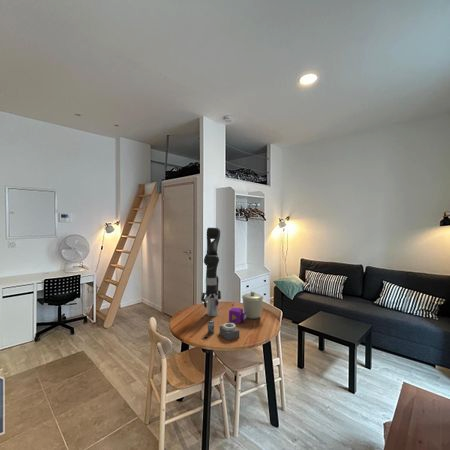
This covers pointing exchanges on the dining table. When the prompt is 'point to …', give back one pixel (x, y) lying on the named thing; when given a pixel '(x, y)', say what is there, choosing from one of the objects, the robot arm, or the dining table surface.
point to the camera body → (229, 331)
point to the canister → (252, 305)
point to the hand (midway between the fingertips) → (211, 306)
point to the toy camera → (236, 315)
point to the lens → (210, 327)
